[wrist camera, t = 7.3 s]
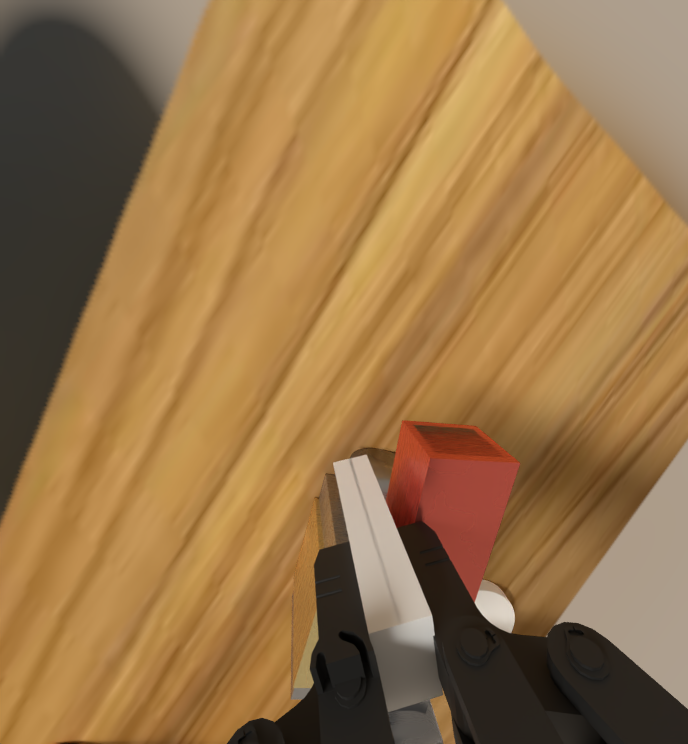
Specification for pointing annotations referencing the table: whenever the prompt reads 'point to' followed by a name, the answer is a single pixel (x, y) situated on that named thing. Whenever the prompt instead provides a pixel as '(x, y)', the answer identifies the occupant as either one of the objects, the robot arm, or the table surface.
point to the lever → (448, 517)
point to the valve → (320, 533)
